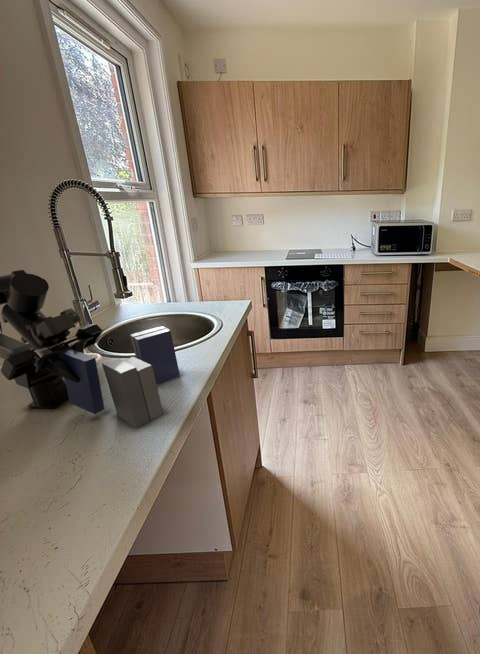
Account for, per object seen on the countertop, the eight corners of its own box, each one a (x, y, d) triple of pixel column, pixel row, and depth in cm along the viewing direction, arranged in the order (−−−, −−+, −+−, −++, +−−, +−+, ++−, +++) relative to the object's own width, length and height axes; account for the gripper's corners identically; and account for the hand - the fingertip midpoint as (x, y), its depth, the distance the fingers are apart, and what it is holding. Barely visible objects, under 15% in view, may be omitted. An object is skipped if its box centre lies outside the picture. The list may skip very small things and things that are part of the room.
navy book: (69, 403, 78) (58, 351, 73) (79, 398, 80) (68, 347, 74) (95, 414, 75) (84, 361, 70) (104, 409, 77) (95, 357, 72)
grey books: (117, 415, 76) (101, 363, 71) (144, 402, 81) (131, 352, 76) (136, 428, 72) (121, 373, 67) (164, 413, 77) (151, 361, 72)
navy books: (149, 387, 87) (137, 340, 82) (141, 380, 91) (129, 334, 86) (180, 375, 92) (170, 330, 87) (172, 369, 96) (162, 325, 91)
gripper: (-14, 316, 61) (48, 380, 62) (85, 289, 77) (134, 340, 78) (-23, 350, 67) (34, 409, 68) (71, 318, 83) (117, 366, 84)
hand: (84, 378), depth 74 cm, fingers closed on navy book, 2 cm apart
